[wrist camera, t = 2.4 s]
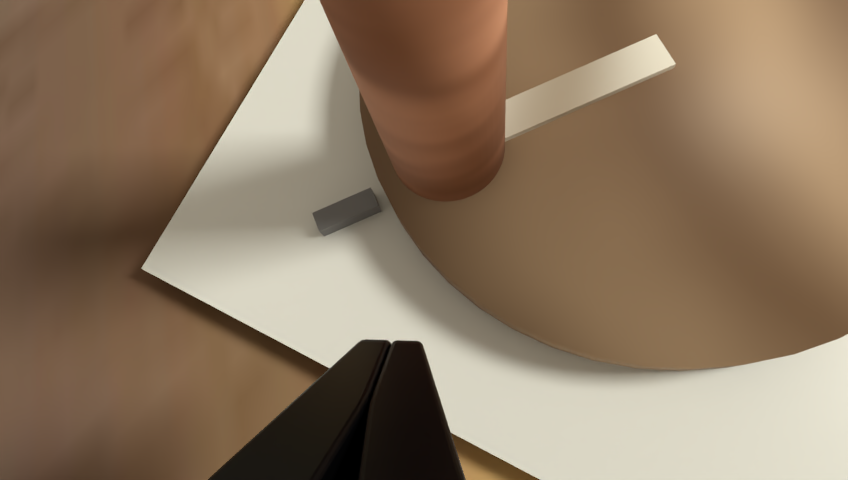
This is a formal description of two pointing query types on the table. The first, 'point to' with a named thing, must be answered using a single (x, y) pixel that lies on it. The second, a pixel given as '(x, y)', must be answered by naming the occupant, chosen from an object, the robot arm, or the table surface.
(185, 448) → the table surface
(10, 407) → the table surface
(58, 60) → the table surface
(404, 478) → the robot arm
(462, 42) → the dial
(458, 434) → the dial plate
